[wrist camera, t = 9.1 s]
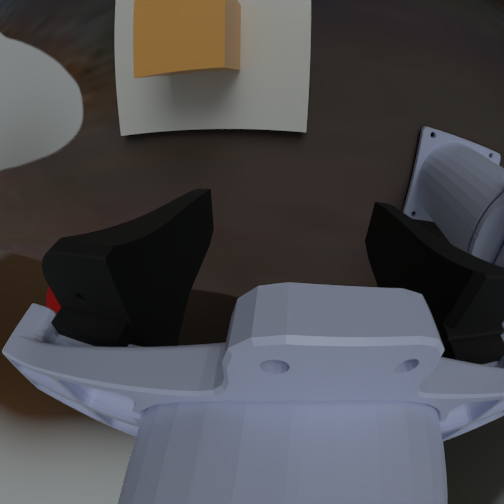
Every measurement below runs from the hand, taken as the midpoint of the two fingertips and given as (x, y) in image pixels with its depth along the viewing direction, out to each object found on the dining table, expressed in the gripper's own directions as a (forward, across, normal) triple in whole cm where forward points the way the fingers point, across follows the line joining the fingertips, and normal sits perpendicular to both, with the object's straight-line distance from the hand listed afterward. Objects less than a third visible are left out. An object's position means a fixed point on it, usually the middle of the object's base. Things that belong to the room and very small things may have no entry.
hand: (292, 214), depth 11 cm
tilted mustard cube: (+8, +6, -9) cm, 14 cm away
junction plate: (+9, +6, -9) cm, 14 cm away
